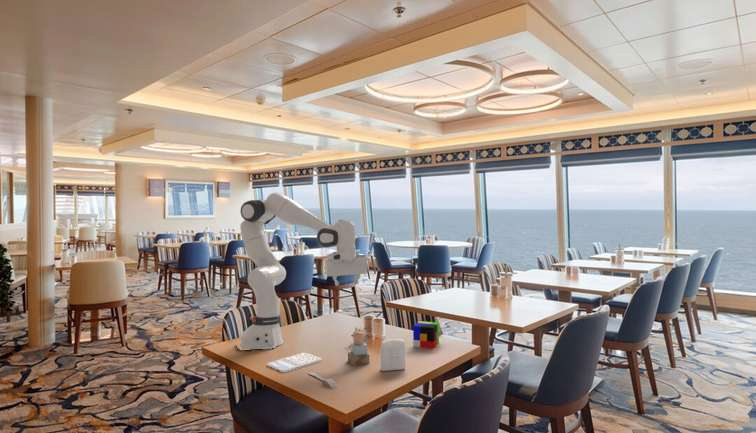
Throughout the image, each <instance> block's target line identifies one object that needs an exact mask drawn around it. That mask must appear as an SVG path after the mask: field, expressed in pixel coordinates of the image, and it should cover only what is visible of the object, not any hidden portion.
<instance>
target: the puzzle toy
mask: <svg viewBox="0 0 756 433" xmlns="http://www.w3.org/2000/svg"><path fill="white" fill-rule="evenodd" d="M439 324H440V322H433V321H422V320H419V321H417V322H415V324H414V325H413V326H412V330H413V331H412V332H413V334H412V336H413V338H412V339H413V341H412V342H413V348H421V347H422V349H431V348H434V349H435V348H436V347H437V346H438V345H439V344H440V325H439ZM437 344H438V345H437ZM436 345H437V346H436Z"/></svg>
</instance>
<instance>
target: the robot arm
mask: <svg viewBox="0 0 756 433" xmlns="http://www.w3.org/2000/svg"><path fill="white" fill-rule="evenodd" d="M240 216H241V217H242V219H243V221H242V222H241V223H240V227H239V228H240V234H241V239H242V241H243V242H242V243H243V245H244V249H245V251H246V252H247V253H246V254H247V255H248V258H249V260H251V261H252V262H253V263H254V264H255V266H256V267H255V268H254V269H252V270H251V271H249V273H248V275H247V284H248V286H249V287H250V288H251V289H252V291H253V294H254V297H255V303H256V304H255V306H256V315H255V316H254V315H251V316H250V318H249V319H250V320H251V322H252V324H251V325H250V326H248V327H247V328H246V329H245V330H243V332H242V333H241V335H240V341H239V342H240V347H242V350H244V349H263V350H272V348H274V349H276V348H277V347H279V346H281V345H282V344H284V340H283V336H282V332H281V324H282V318H281V317H282V316H281V314H280V298H279V297H278V295H277V293H276V290H275V286H278V285H280V284H281V283H282V282H283V281H284V280H285V279H286V277H287V271H286V269H285V266H283V265H282V264H280V262H279V261H278V259H277V258H276V257H275V254H274V253H273V252H272V249H271V247H270V244H269V242H268V240H267V236H266V233H265V231H264V225H268V224H269V223H270V222H271V221H272V220H274V219H275V218H278V219H280V220H282V221H283V222H284V223H286V224H289V225H291V226H302V227H303V226H304V227H306V228H310V229H312V230H313V231H315V232H317V233H316V242H317V244H318V245H319V246H320V247H322V248H326V249H328V248H329V249H330V248H336V251H334V252H331V253H328V254H326V259H327V260H326V262H325V266H324V275H326V276H327V277H332V280H333V281H334V285H335V286H336V287H338V286H340V281H338V280H337V279H338V277H339V276H351V275H353V276H354V275H355V279H353V284H354V285H358V284H359V280H360V278H361V275H365V274H367V273H368V263H367V262H368V256H367V255H365V254H364V253H361V254H357V249H356V241H357V240H356V238H357V236H356V235H357V234H356V226H355V223H354V222H353V221H351V220H347V219H338V220H337V221H336V222H335V223H333V224H331V223H330V222H327V221H325V220H324V219H322V218H320V217H319V216H317V215H315V214H314V213H311V212H310V211H309V210H307V209H306V208H305V207H303V206H302V205H301V204H299V203H298V202H297V201H295V200H294V199H292V198H290V197H289V196H287V195H285V194H282V193H280V192H275V191H274V192H272V193H270V194H269V195H268V196H267V198H266V199H250V200H247V201H245V202H244V203H243V204H242V205H241V207H240ZM276 346H277V347H276ZM238 347H239V346H238ZM240 347H239V349H240ZM275 347H276V348H275Z"/></svg>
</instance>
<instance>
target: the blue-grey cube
mask: <svg viewBox="0 0 756 433" xmlns="http://www.w3.org/2000/svg"><path fill="white" fill-rule="evenodd" d="M350 348H351V349H350V352H352V353H353V354H354V355H355V356H357V355H364V354H367V353H368V344H367V343H366V342H364V345H360V346H357V345H354V344H353V342H351V343H350Z"/></svg>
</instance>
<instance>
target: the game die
mask: <svg viewBox="0 0 756 433" xmlns="http://www.w3.org/2000/svg"><path fill="white" fill-rule="evenodd" d="M354 328H355V330H354V332H355V331H363V332H364V342H365V343H366V342H367V339H369V337H370V335H368V334H367V330H366V327H364V328H357V327H354ZM350 337H352V338H353V334H351V335H350Z"/></svg>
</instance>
